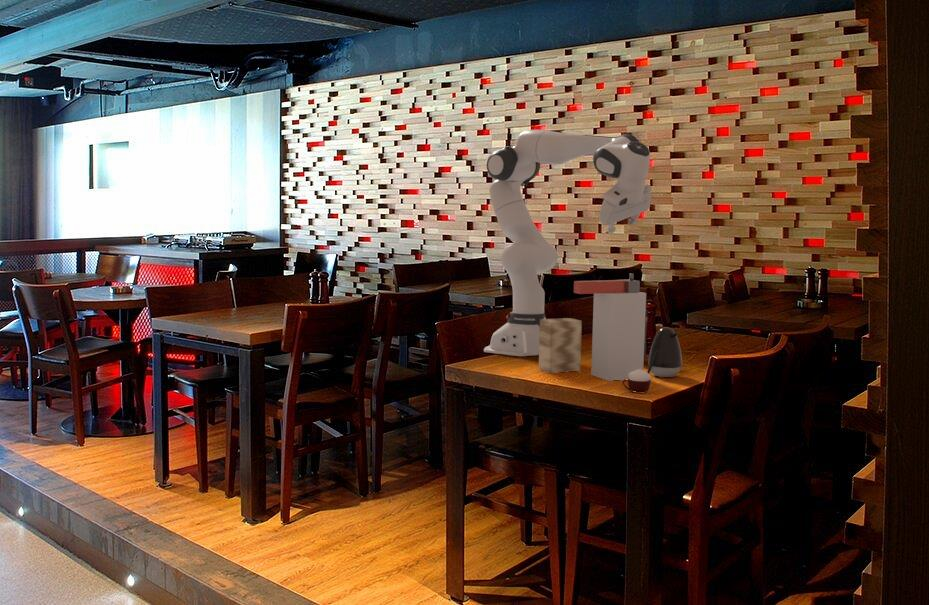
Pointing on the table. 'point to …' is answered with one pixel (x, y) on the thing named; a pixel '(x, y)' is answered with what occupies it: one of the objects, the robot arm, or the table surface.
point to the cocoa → (640, 378)
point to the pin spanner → (607, 286)
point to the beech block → (560, 345)
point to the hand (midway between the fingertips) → (621, 227)
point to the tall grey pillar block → (618, 334)
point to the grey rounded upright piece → (665, 353)
